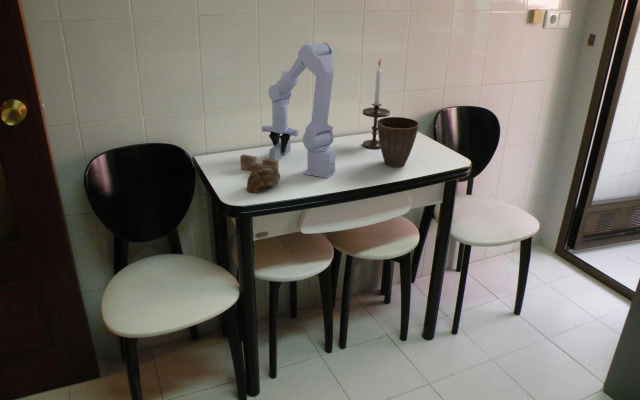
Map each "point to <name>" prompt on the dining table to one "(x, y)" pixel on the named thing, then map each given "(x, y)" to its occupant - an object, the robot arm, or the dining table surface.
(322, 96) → the robot arm
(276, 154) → the grey slotted slat
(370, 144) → the candlestick
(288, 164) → the dining table surface
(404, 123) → the plant pot
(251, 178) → the seashell
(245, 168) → the walnut slotted board
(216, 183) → the dining table surface
